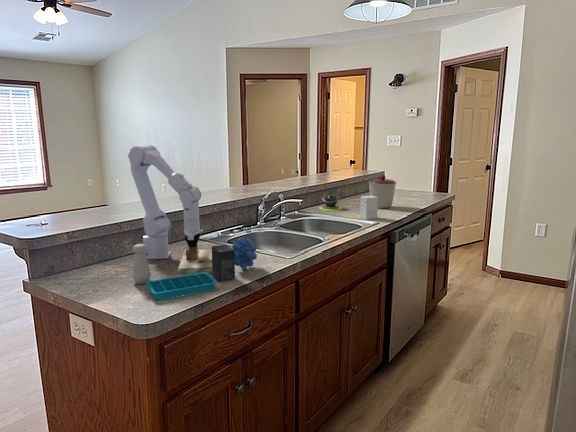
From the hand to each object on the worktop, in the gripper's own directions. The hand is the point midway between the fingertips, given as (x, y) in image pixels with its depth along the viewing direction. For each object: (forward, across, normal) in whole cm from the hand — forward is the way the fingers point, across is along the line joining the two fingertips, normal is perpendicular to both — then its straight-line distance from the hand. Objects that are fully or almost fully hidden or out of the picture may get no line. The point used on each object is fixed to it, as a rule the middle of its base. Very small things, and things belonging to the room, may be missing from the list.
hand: (193, 253), depth 164 cm
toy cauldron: (+3, +101, -79) cm, 128 cm away
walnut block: (+1, -3, 0) cm, 4 cm away
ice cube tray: (+4, -30, +1) cm, 30 cm away
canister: (+3, +101, -112) cm, 151 cm away
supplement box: (+3, +69, -93) cm, 116 cm away
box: (+3, -20, -12) cm, 23 cm away
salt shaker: (+3, -21, +15) cm, 26 cm away
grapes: (+3, -13, -20) cm, 24 cm away
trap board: (+3, -3, -2) cm, 5 cm away
